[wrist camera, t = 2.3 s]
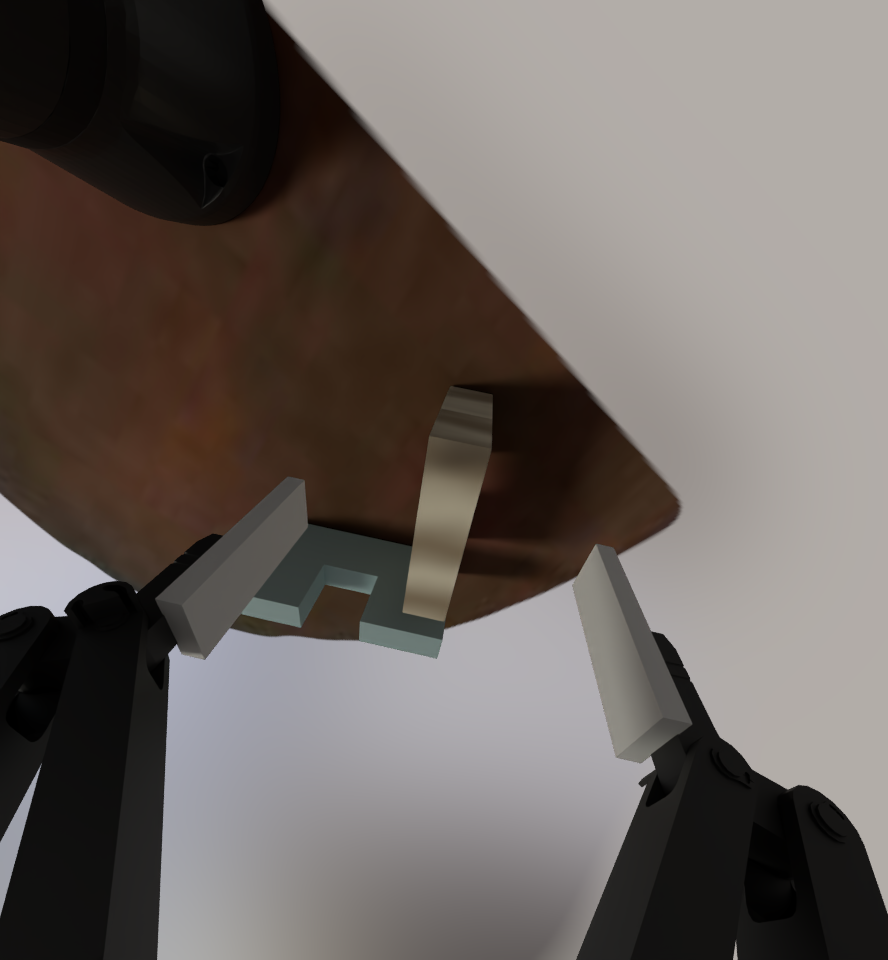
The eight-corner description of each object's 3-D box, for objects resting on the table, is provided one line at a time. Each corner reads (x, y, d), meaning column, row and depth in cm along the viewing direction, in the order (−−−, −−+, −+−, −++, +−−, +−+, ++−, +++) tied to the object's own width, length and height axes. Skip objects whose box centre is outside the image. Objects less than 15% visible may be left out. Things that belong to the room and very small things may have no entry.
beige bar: (450, 385, 26) (429, 435, 18) (492, 394, 26) (491, 448, 18) (424, 532, 35) (402, 612, 26) (456, 538, 35) (444, 621, 26)
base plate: (284, 537, 38) (224, 610, 30) (281, 517, 37) (217, 589, 28) (450, 573, 38) (437, 658, 29) (454, 555, 36) (442, 640, 28)
